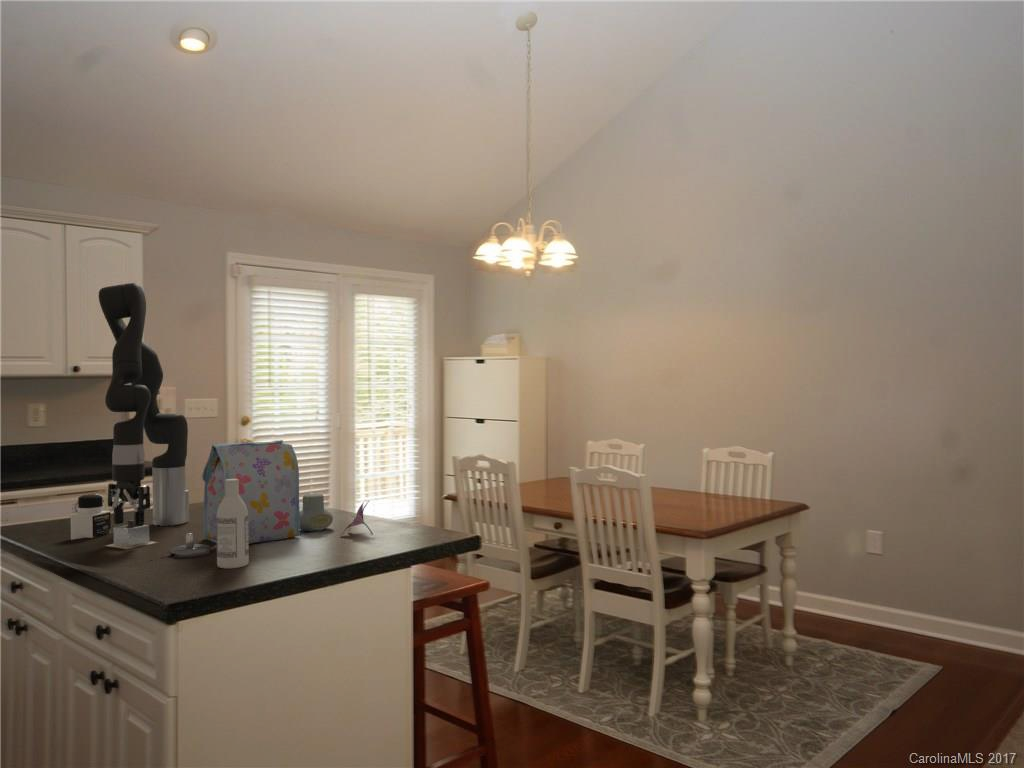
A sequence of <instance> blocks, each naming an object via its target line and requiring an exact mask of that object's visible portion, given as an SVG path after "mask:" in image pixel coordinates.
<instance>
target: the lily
mask: <svg viewBox="0 0 1024 768" xmlns="http://www.w3.org/2000/svg"><path fill="white" fill-rule="evenodd" d="M369 502H370V500H368V501H367V503H366V504H364V503H365V501H363V502H361V503H362V504H361V505H360V506H359V507H358V509H357V511H356V514H355V515H353V514H351V515H350V518H354V519H353V520H352V522H351V523H349V524H348V525H347V526H346V527H345V529H344V530H343V532H342V533H341V535H340V537H342V536H343V535H344V533H345V532H346V531H347V530H348V531H347V533H349V532H350V531H351V529H352V528H353V527H355V526H358V525H362V524H364V526H365V527H366V528H367V530H369V531H370V532H369V533H370V534H371V535H374V533H373V532H372V530H371V529H370V527H369V526H368V525H367V524H366V522H365V521H364V512H365V508H366V507H367V505H368V503H369Z"/></svg>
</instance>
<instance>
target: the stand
mask: <svg viewBox="0 0 1024 768" xmlns="http://www.w3.org/2000/svg"><path fill="white" fill-rule="evenodd" d="M127 525H128V528H133V527H135V525H134V519H130V520H127ZM158 543H159V542H158V541H152V540H151V541H150V540H149V543H146V544H141V545H137V546H132V547H124V546H117V545H114V543H111V544H110V543H109V544H107V545H105V544H104V546H105V547H110V548H116V549H117V548H118V549H124V550H129V549H134V548H139V547H143V546H149V545H153V544H158Z"/></svg>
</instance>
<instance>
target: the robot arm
mask: <svg viewBox="0 0 1024 768" xmlns="http://www.w3.org/2000/svg"><path fill="white" fill-rule="evenodd" d="M98 301H99V302H98V303H99V305H100V308H101V310H102V313H103V315H104V318H105V320H106V323H107V325H108V327H109V328H110V330H111V333H112V335H113V337H114V340H115V344H114V347H113V349H112V353H111V354H112V356H111V358H112V359H111V360H112V362H111V366H112V372H111V373H112V375H111V379H110V384H109V386H108V388H107V391H106V394H105V398H104V399H105V406H106V407H107V409H108V410H109V411H111V412H113V413H135V415H134V416H133V417H132V418H131V419H128V420H123V421H118V422H116V423H115V424H114V425H113V431H112V432H113V437H112V438H113V441H112V442H113V446H112V447H113V448H112V456H111V457H112V462H111V463H112V464H111V465H112V467H111V468H112V471H111V473H112V474H111V476H112V478H111V479H112V481H113V482H114V483H113V482H112V483H108V487H107V506H108V507H111V509H112V510H113V523H114V525H121V524H124V506H125V505H126V504H127V503H129V505H131V506H132V508H133V510H134V512H133V513H134V514H133V515H134V519H133V520H134V525H135V526H137V527H138V526H143V525H145V511H147V510H148V509H151V493H150V489H151V488H150V485H142V483H141V481H143V480H145V475H146V474H145V468H146V467H145V448H144V432H145V435H146V437H147V439H148V441H149V442H150V443H151V444H154V445H155V444H156V445H167V450H166V451H165V452H164V453H162V454H160V455H157V456H155V457H153V458H152V463H151V464H152V466H151V469H152V471H151V472H152V473H151V474H152V525H153V524H154V526H157V525H160V527H161V526H162V527H163V526H165V527H166V526H167V527H168V525H169V526H176V525H182V524H185V523H188V522H190V512H189V511H190V508H189V507H190V506H189V504H190V499H189V498H190V496H189V495H190V494H189V493H190V492H189V490H186V489H187V488H186V487H187V486H186V485H187V482H186V480H187V479H186V460H187V456H188V438H189V437H188V436H189V433H188V432H189V429H188V428H189V427H188V426H189V425H188V422H187V419H186V417H185V416H184V415H183V414H181V413H161V411H160V409H159V406H158V401H157V398H158V393H159V391H160V389H161V386H162V383H163V380H164V379H163V378H164V371H163V367H162V365H161V363H160V359H159V356H158V354H157V352H156V351H155V350H154V349H153V348H152V347H151V346H150V345H148V344H147V343H146V342H145V341H144V340H143V337H144V330H145V329H144V328H145V321H146V316H147V315H146V313H147V299H146V295H145V292H144V289H143V288H142V286H141V285H140V284H139V283H136V282H129V283H123V284H122V283H121V284H117V285H116V284H115V285H110V286H105V287H102V288H100V289H99V291H98ZM127 318H129V321H128V323H127V324H126V322H125V320H123V319H127ZM144 501H145V503H144Z"/></svg>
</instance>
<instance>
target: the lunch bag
mask: <svg viewBox="0 0 1024 768" xmlns="http://www.w3.org/2000/svg"><path fill="white" fill-rule="evenodd" d="M201 476H202V481H203V482H204V488H203V491H204V493H203V494H204V495H203V540H204V541H205V540H208V541H211V542H213V543H216V544H217V525H216V517H217V510H218V507H219V505H220V503H221V502H222V500H223V499H224V497H225V495H226V494H225V480H227V479H238V480H239V496H240V497H241V499H242V500H243V502H244V503H245V505H246V507H247V511H248V540H249V544H256V543H263V542H271V541H278V540H285V539H290V538H294V537H300V534H301V533H300V531H301V529H300V511H301V510H300V508H301V507H300V470H299V461H298V457H297V456H296V452H295V450H294V447H293V445H292V444H289V443H284V440H283V439H281V440H280V439H279V440H278V439H276V440H273V441H256V442H255V441H248V442H227V443H217V444H215V443H212V444H211V449H210V452H209V455H208V458H207V461H206V463H205V466H204V468H203V472H202V475H201Z"/></svg>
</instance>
